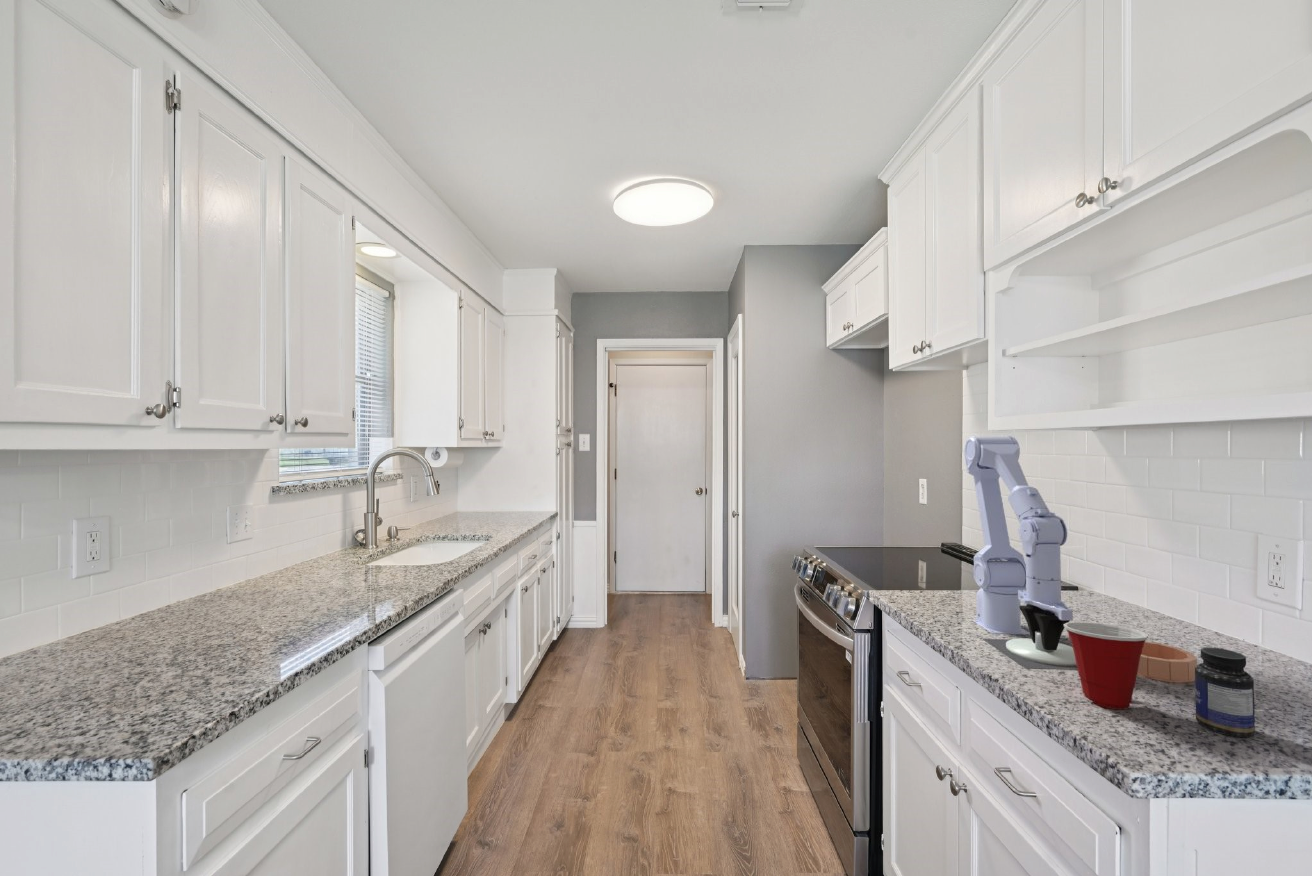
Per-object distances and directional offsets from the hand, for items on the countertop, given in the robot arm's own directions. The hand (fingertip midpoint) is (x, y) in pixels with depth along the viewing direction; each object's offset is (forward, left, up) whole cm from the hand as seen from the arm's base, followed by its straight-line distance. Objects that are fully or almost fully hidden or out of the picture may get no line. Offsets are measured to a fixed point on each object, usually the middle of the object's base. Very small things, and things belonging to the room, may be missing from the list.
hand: (1044, 646), depth 111 cm
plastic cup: (+20, -2, -2) cm, 20 cm away
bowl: (+7, +15, -2) cm, 17 cm away
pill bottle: (+28, +9, -2) cm, 29 cm away
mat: (0, 0, -2) cm, 2 cm away
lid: (0, 0, -1) cm, 1 cm away
